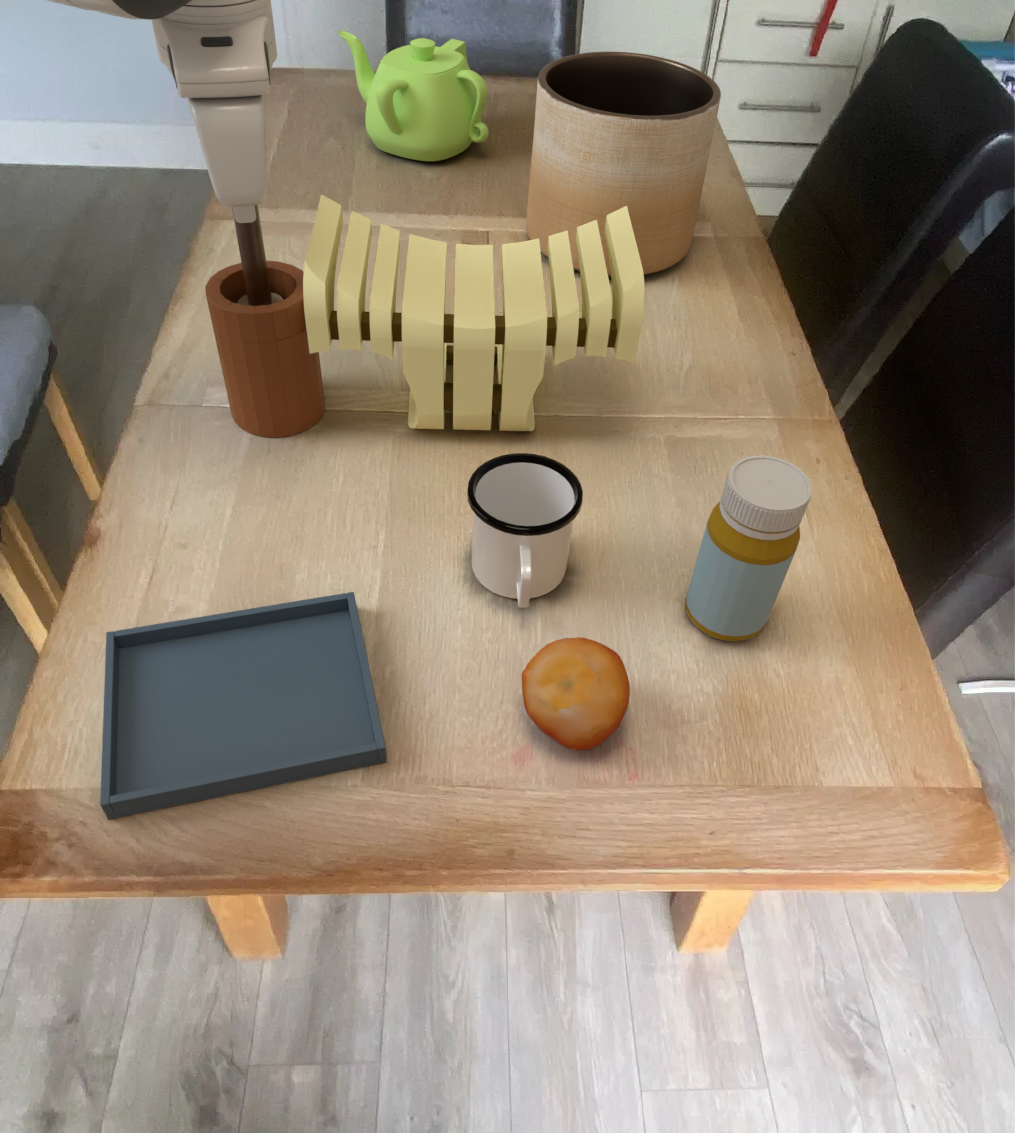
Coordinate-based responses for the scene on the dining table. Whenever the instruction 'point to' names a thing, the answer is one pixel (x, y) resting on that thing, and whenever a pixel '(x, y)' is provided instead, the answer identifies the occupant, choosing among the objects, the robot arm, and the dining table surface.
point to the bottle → (747, 547)
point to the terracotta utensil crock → (266, 353)
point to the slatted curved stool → (473, 312)
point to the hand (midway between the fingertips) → (244, 209)
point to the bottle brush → (254, 264)
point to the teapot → (421, 99)
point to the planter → (621, 150)
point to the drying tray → (235, 704)
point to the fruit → (576, 692)
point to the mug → (522, 524)
